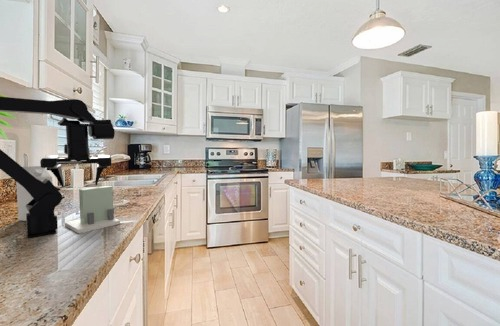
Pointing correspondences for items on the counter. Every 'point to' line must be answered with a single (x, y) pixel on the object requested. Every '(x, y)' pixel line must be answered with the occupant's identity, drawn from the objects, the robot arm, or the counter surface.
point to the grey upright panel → (95, 203)
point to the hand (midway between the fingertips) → (80, 185)
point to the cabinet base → (92, 223)
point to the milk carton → (23, 194)
